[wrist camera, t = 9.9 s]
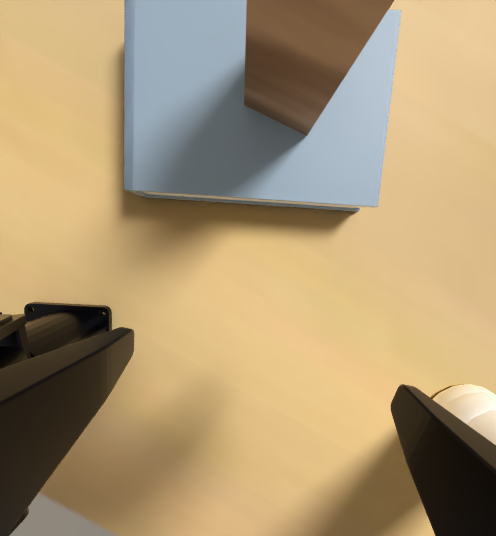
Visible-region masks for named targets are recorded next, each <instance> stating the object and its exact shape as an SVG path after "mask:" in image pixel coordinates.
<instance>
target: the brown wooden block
mask: <svg viewBox="0 0 496 536" xmlns="http://www.w3.org/2000/svg"><path fill="white" fill-rule="evenodd" d="M393 1H394V0H247V4H246V45H245V86H244V105H245V106H247V107H249V108H251V109H253V110H255V111H258V112H260V113H262V114H264V115H266V116H268V117H270V118H272V119H274V120H276V121H278V122H280V123H282V124H284V125H286V126H288V127H290V128H292V129H294V130H296V131H298V132H300V133H302V134H304V135H306V136H307V135H308V134H309V132H310V131H311V129H312V127H313V126H314V124H315V123H316V121H317V120H318V118H319V117H320V115H321V113H322V112H323V110H324V109H325V107H326V106H327V104H328V103H329V101H330V99H331V98H332V96H333V95H334V93H335V92H336V90H337V89H338V87H339V85H340V84H341V82H342V81H343V79H344V78H345V76H346V75H347V73H348V71H349V70H350V68H351V67H352V65H353V64H354V62H355V61H356V59H357V57H358V56H359V54H360V53H361V51H362V50H363V48H364V47H365V45H366V43H367V42H368V40H369V39H370V37H371V36H372V34H373V33H374V31H375V29H376V28H377V26H378V25H379V23H380V22H381V20H382V19H383V17H384V15H385V14H386V12H387V11H388V9H389V8H390V6H391V5H392V3H393Z"/></svg>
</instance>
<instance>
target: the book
mask: <svg viewBox="0 0 496 536" xmlns="http://www.w3.org/2000/svg"><path fill="white" fill-rule="evenodd" d="M246 4H247V0H125V36H124V190H127V191H129V192H131V193H134V194H136V195H138V196H141V197H148V198H162V199H177V200H192V201H207V202H222V203H237V204H252V205H266V206H281V207H296V208H311V209H326V210H341V211H356V212H358V211H360V208H364V207H378V201H379V193H380V185H381V176H382V168H383V160H384V151H385V143H386V135H387V126H388V118H389V110H390V101H391V93H392V85H393V76H394V68H395V60H396V51H397V43H398V35H399V26H400V18H401V11H400V10H390V9H388V11H387V12H386V14H385V15H384V17H383V19H382V20H381V22H380V23H379V25H378V26H377V28H376V29H375V31H374V33H373V34H372V36H371V37H370V39H369V40H368V42H367V43H366V45H365V47H364V48H363V50H362V51H361V53H360V54H359V56H358V57H357V59H356V61H355V62H354V64H353V65H352V67H351V68H350V70H349V71H348V73H347V75H346V76H345V78H344V79H343V81H342V82H341V84H340V85H339V87H338V89H337V90H336V92H335V93H334V95H333V96H332V98H331V99H330V101H329V103H328V104H327V106H326V107H325V109H324V110H323V112H322V113H321V115H320V117H319V118H318V120H317V121H316V123H315V124H314V126H313V127H312V129H311V131H310V132H309V134H308V135H307V136H306V135H304V134H302V133H300V132H298V131H296V130H294V129H292V128H290V127H288V126H286V125H284V124H282V123H280V122H278V121H276V120H274V119H272V118H270V117H268V116H266V115H264V114H262V113H260V112H258V111H255V110H253V109H251V108H249V107H247V106H245V105H244V86H245V45H246Z"/></svg>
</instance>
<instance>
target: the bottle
mask: <svg viewBox="0 0 496 536" xmlns="http://www.w3.org/2000/svg"><path fill="white" fill-rule="evenodd" d="M432 400H434V401H435V402H437V403H438V404H439V405H441V406H442V407H444V408H445V409H446V410H448V411H449V412H450V413H452V414H453V415H455V416H456V417H457V418H459V419H460V420H462V421H463V422H464V423H466V424H467V425H468V426H470V427H471V428H473V429H474V430H475V431H477V432H478V433H480V434H481V435H482V436H484V437H485V438H486V439H488V440H489V441H491V442H492V443H493V444H495V445H496V395H495V394H494V393H492V392H490V391H489V390H487V389H485V388H484V387H481V386H476V385H471V384H464V385H456V386H452V387H450V388H448V389H446V390H444V391H442V392H440V393H438V394H437V395H436V396H435V397H434V398H433V399H432Z"/></svg>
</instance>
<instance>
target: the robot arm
mask: <svg viewBox="0 0 496 536" xmlns="http://www.w3.org/2000/svg"><path fill="white" fill-rule="evenodd" d="M32 307H33V308H34V311H33V310H32ZM102 310H104V311H105V312H106V315H104V314H103V313H102ZM24 313H25V314H18V315H2V312H0V536H9V535H10V534H11V533H12V532H13V531H14V530H15V529H16V528H17V527H18V525H19V524H20V523H21V522H22V521H23V520H24V519H25V518H26V516H27V515H28V512H29V510H28V506H29V505H30V504H31V502H32V501H33V499H34V498H35V497H36V495H37V494H38V492H39V491H40V490H41V488H42V487H43V486H44V484H45V483H46V481H47V480H48V479H49V477H50V476H51V475H52V473H53V472H54V470H55V469H56V468H57V466H58V465H59V464H60V462H61V461H62V460H63V458H64V457H65V455H66V454H67V453H68V451H69V450H70V449H71V447H72V446H73V444H74V443H75V442H76V440H77V439H78V438H79V436H80V435H81V433H82V432H83V431H84V429H85V428H86V427H87V425H88V424H89V423H90V421H91V420H92V418H93V417H94V416H95V414H96V413H97V412H98V410H99V409H100V407H101V406H102V405H103V403H104V402H105V400H106V399H107V397H108V396H109V394H110V393H111V391H112V389H113V388H114V386H115V384H116V383H117V381H118V379H119V377H120V376H121V374H122V372H123V371H124V369H125V367H126V366H127V364H128V362H129V360H130V359H131V357H132V355H133V351H134V331H133V330H132V329H129V328H124V327H120V328H117V329H114V330H112V312H111V309H110V308H109V307H108V306H100V305H81V304H61V303H42V302H32V303H29V304H27V305H26V306H25V308H24ZM391 413H392V416H393V419H394V423H395V426H396V429H397V433H398V436H399V439H400V443H401V446H402V449H403V453H404V456H405V459H406V462H407V465H408V467H409V470H410V473H411V475H412V478H413V480H414V483H415V485H416V488H417V490H418V493H419V495H420V498H421V500H422V503H423V505H424V508H425V511H426V513H427V516H428V518H429V521H430V523H431V526H432V528H433V531H434V533H435V536H496V445H495V444H493V443H492V442H491V441H489V440H488V439H486V438H485V437H484V436H482V435H481V434H480V433H478V432H477V431H475V430H474V429H473V428H471V427H470V426H468V425H467V424H466V423H464V422H463V421H462V420H460V419H459V418H457V417H456V416H455V415H453V414H452V413H450V412H449V411H448V410H446V409H445V408H444V407H442V406H441V405H439V404H438V403H437V402H435V401H434V400H432V399H431V398H430V397H428V396H427V395H426V394H424V393H423V392H421V391H420V390H419V389H417V388H416V387H413V386H409V385H404V384H402V385H400V386H399V387H398V389H397V391H396V393H395V396H394V398H393V400H392V402H391Z"/></svg>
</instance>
